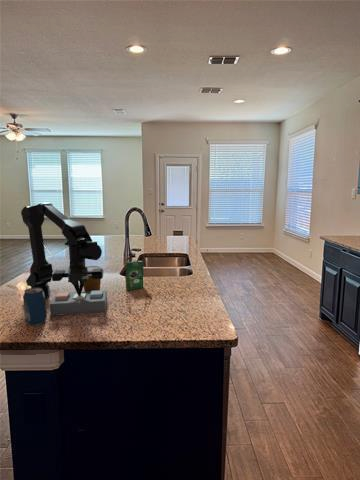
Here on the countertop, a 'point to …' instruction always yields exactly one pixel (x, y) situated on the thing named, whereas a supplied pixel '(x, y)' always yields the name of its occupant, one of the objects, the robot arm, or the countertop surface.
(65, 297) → the rust key
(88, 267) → the disposable coffee cup
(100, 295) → the slate key
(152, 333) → the countertop surface
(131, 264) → the coffee box
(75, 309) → the key panel
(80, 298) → the pale key
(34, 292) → the soda can
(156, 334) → the countertop surface
